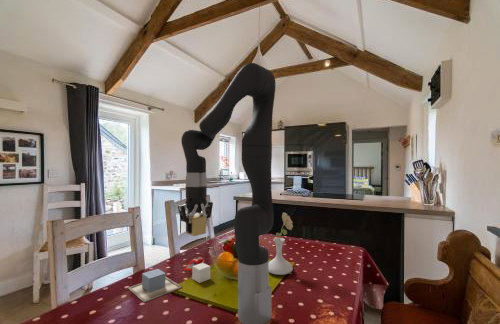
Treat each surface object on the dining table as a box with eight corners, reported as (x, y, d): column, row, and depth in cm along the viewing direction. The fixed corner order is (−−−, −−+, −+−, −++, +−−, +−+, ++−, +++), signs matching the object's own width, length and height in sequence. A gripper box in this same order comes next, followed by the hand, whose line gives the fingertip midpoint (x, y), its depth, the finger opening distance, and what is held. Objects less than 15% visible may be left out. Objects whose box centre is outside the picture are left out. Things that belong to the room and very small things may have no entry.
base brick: (165, 286, 92) (165, 273, 92) (149, 292, 88) (149, 278, 88) (157, 281, 97) (157, 268, 97) (142, 287, 92) (142, 273, 92)
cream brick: (210, 281, 99) (210, 266, 99) (199, 285, 95) (199, 269, 96) (202, 277, 103) (202, 262, 103) (192, 281, 99) (192, 266, 99)
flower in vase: (279, 280, 100) (279, 217, 100) (260, 271, 108) (260, 212, 109) (300, 271, 108) (300, 213, 108) (281, 263, 117) (281, 209, 117)
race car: (192, 276, 104) (192, 267, 104) (181, 275, 105) (181, 265, 105) (206, 264, 116) (206, 255, 116) (196, 263, 118) (196, 254, 118)
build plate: (182, 290, 92) (182, 286, 92) (144, 305, 82) (144, 301, 82) (163, 278, 102) (163, 275, 102) (127, 291, 91) (127, 287, 91)
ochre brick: (205, 233, 92) (205, 216, 92) (194, 236, 88) (194, 219, 88) (198, 230, 95) (197, 214, 95) (186, 233, 92) (186, 216, 92)
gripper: (184, 186, 84) (184, 237, 84) (218, 184, 94) (218, 229, 94) (173, 185, 89) (172, 233, 89) (206, 183, 100) (206, 226, 99)
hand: (196, 231), depth 92 cm, fingers closed on ochre brick, 5 cm apart
